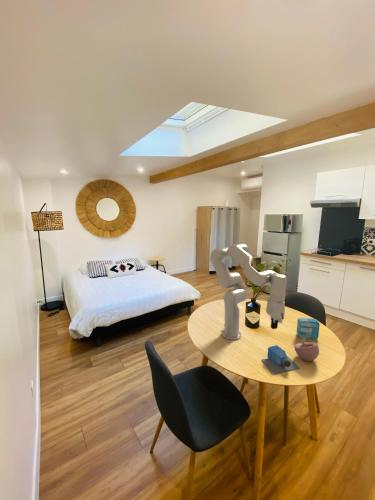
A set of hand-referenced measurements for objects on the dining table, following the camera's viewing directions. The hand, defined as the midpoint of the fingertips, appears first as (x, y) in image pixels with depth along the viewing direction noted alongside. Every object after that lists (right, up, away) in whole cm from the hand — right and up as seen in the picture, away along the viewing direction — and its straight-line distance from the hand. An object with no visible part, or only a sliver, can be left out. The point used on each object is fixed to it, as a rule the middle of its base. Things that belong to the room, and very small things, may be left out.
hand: (273, 328), depth 123 cm
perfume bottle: (+1, -15, +4) cm, 15 cm away
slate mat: (+3, -19, -1) cm, 20 cm away
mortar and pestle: (+19, -18, +3) cm, 27 cm away
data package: (+31, -14, +24) cm, 42 cm away
